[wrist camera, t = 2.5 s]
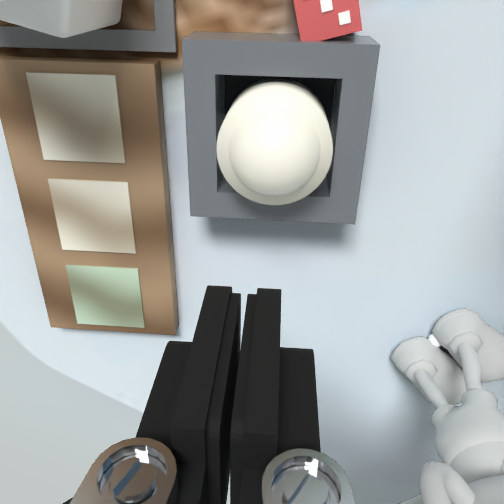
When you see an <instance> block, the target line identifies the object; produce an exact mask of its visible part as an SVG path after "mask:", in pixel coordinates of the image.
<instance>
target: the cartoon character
mask: <svg viewBox="0 0 504 504" xmlns="http://www.w3.org/2000/svg"><path fill="white" fill-rule="evenodd" d="M439 346H443V347H444V348H445V349H447V350H448V352H449V353H450V355H451V356H450V355H448V354H447V353H445V352H444V351H442V350H441V349H440V348H439ZM391 359H392V360H393V362H394V364H395V366H396V367H397V368H398V369H399V370H400V372H401V373H403V374H404V375H406V376H407V378H408V379H410V380H411V381H412V383H413V384H414V385H415V386H416V387H417V388H418V389H419V391H420V392H421V393H422V394H423V395H424V397H425V398H426V399H427V400H428V401H429V402H431V403H433V404H434V406H435V407H436V408H437V409H436V410H435V412H434V413H433V414H432V417H431V423H432V424H433V426H434V427H435V428H436V434H435V446H436V449H437V452H438V455H439V456H440V458H441V459H442V461H443V462H444V463H443V462H437V461H426V462H425V464H424V465H423V466H422V471H421V476H420V482H419V489H420V492H421V494H419V495H417V496H415V497H413V498H411V499H408V500H406V501H404V502H401V503H399V504H504V414H503V413H502V412H501V411H499V410H498V409H497V399H496V397H495V395H494V394H493V393H491V392H489V391H488V390H484V389H483V388H482V385H481V382H489V381H496V380H503V378H504V336H503V335H501V334H500V333H499V332H497V331H496V330H494V329H493V328H491V327H490V326H488V325H487V324H485V322H484V321H483V320H482V318H481V317H480V316H479V315H478V314H476V313H474V312H472V311H470V310H468V309H466V308H465V309H459V310H454V311H452V312H449V313H447V314H445V315H443V316H442V317H441V318H440V319H439V320H438V321H437V323H436V325H435V326H434V328H433V330H432V334H431V335H429V337H428V339H427V338H425V337H423V336H421V337H415V338H410V339H408V340H406V341H403V342H402V343H401V344H400V345H399V346H398V347H397V348H396V349H395V350H394V352H393V354H392V356H391ZM460 401H462V405H461V406H459V407H456V406H454V405H455V404H459V403H460Z"/></svg>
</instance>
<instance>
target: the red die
mask: <svg viewBox="0 0 504 504" xmlns="http://www.w3.org/2000/svg"><path fill="white" fill-rule="evenodd" d="M293 1H294V7H295V12H296V18H297V23H298V29H299V34H300V40H301V41H322V40H326V39H330V38H334V37H338V36H342V35H346V34H350V33H354V32H357V31H361V30H362V26H361V17H360V9H359V1H358V0H293Z"/></svg>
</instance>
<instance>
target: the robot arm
mask: <svg viewBox="0 0 504 504" xmlns="http://www.w3.org/2000/svg"><path fill="white" fill-rule="evenodd" d="M280 323H281V289H264V288H258V289H257V294H248V296H247V304H246V312H245V319H244V327H243V335H242V343H241V350H240V329H241V294H239V293H232V287H227V286H207V289H206V293H205V296H204V300H203V304H202V308H201V311H200V315H199V319H198V323H197V326H196V330H195V334H194V338H193V342H181V341H169V342H168V343H167V346H166V348H165V351H164V354H163V357H162V360H161V363H160V366H159V369H158V372H157V375H156V378H155V381H154V384H153V387H152V390H151V393H150V396H149V399H148V402H147V405H146V408H145V411H144V414H143V417H142V420H141V423H140V426H139V429H138V432H137V435H136V438H132V439H127V440H123V441H121V442H118V443H116V444H114V445H112V446H110V447H109V448H108V449H106V450H105V451H104V452H103V453H101V454H100V455H99V457H98V458H97V459H96V461H95V462H94V463H93V464H92V466H91V468H90V469H89V471H88V473H87V475H86V476H85V478H84V480H83V481H82V483H81V485H80V487H79V488H78V490H77V492H76V494H75V495H74V497H73V498H71V499H69V500H68V501H66V502H65V503H63V504H226V500H227V493H228V484H229V475H230V497H231V500H230V501H231V502H230V504H356V503H355V500H354V496H353V493H352V489H351V486H350V483H349V480H348V478H347V476H346V474H345V472H344V470H343V469H342V468H341V467H340V466H339V465H338V464H337V462H336V461H334V460H333V459H331V458H330V457H328V456H327V455H325V454H324V453H321V452H320V437H319V422H318V408H317V393H316V378H315V364H314V352H313V349H300V348H283V347H280Z"/></svg>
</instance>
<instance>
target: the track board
mask: <svg viewBox="0 0 504 504" xmlns="http://www.w3.org/2000/svg"><path fill="white" fill-rule="evenodd" d="M0 118H1V122H2V126H3V130H4V135H5V139H6V143H7V147H8V151H9V155H10V159H11V164H12V168H13V172H14V176H15V180H16V184H17V188H18V193H19V197H20V201H21V205H22V209H23V213H24V217H25V222H26V226H27V230H28V234H29V238H30V242H31V246H32V251H33V255H34V259H35V263H36V267H37V271H38V275H39V280H40V284H41V288H42V292H43V296H44V300H45V304H46V309H47V313H48V317H49V321H50V325H51V327H57V328H72V329H88V330H104V331H119V332H135V333H151V334H166V335H175V334H176V331H177V328H178V325H179V321H178V307H177V293H176V279H175V266H174V252H173V238H172V224H171V210H170V197H169V183H168V169H167V155H166V141H165V127H164V114H163V100H162V86H161V72H160V61H152V60H121V59H90V58H59V57H28V56H0Z"/></svg>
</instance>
